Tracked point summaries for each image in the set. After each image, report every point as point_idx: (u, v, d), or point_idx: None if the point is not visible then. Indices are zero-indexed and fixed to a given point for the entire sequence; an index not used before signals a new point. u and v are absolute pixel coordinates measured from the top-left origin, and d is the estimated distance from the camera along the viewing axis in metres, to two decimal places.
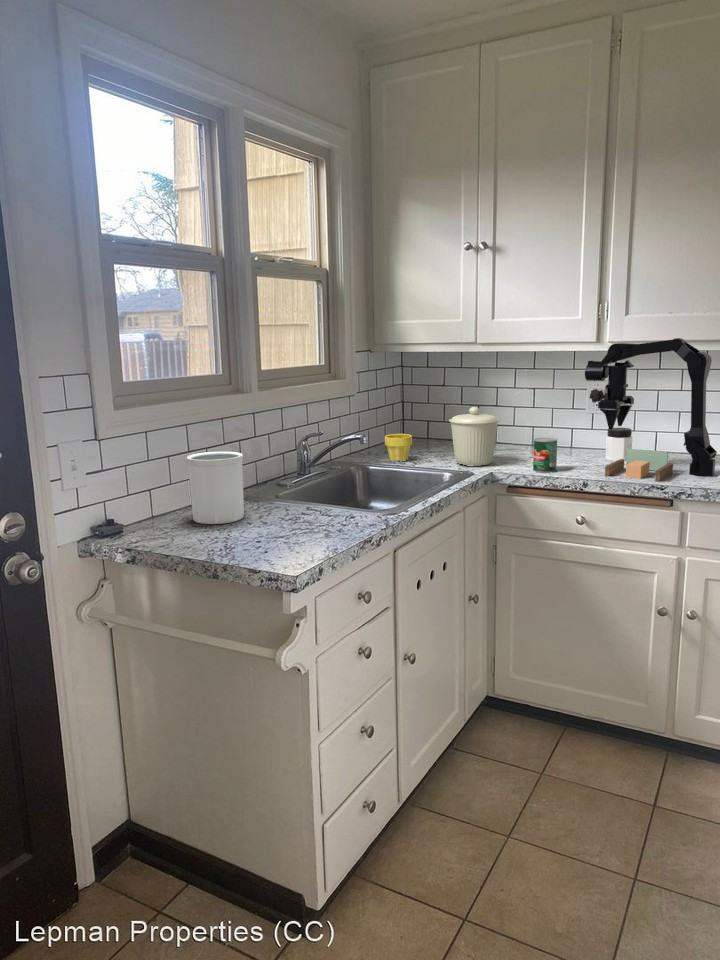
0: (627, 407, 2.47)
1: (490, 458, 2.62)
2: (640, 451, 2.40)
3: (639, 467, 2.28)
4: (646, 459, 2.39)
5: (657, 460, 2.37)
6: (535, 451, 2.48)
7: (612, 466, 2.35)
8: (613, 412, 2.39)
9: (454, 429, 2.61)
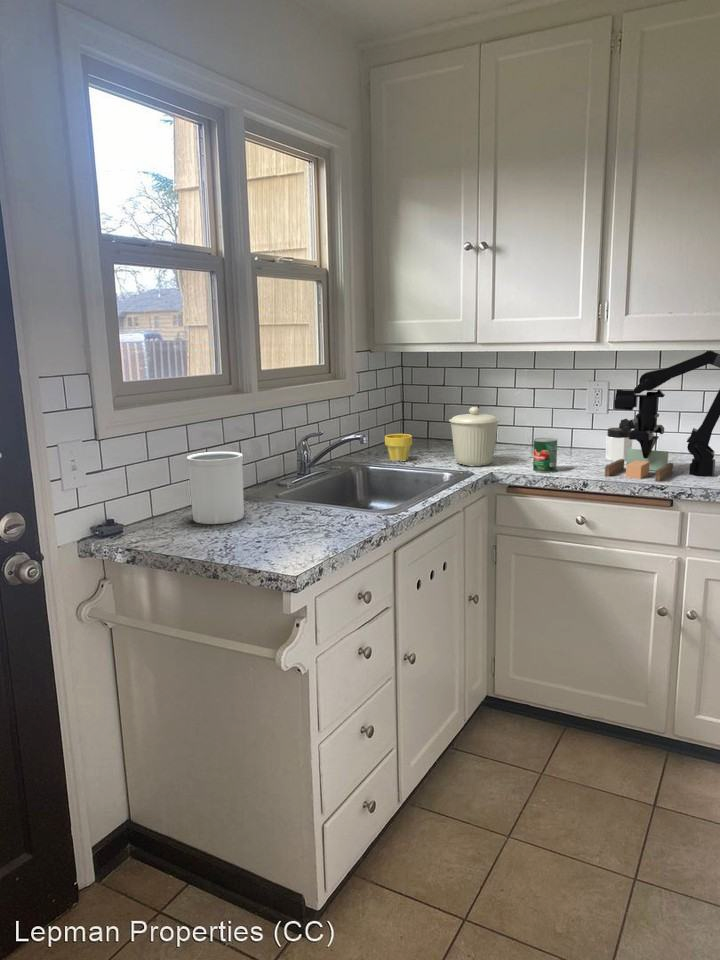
0: None
1: (490, 458, 2.62)
2: (640, 451, 2.40)
3: (639, 467, 2.28)
4: (646, 459, 2.39)
5: (657, 460, 2.37)
6: (535, 451, 2.48)
7: (612, 466, 2.35)
8: (648, 441, 2.35)
9: (454, 429, 2.61)
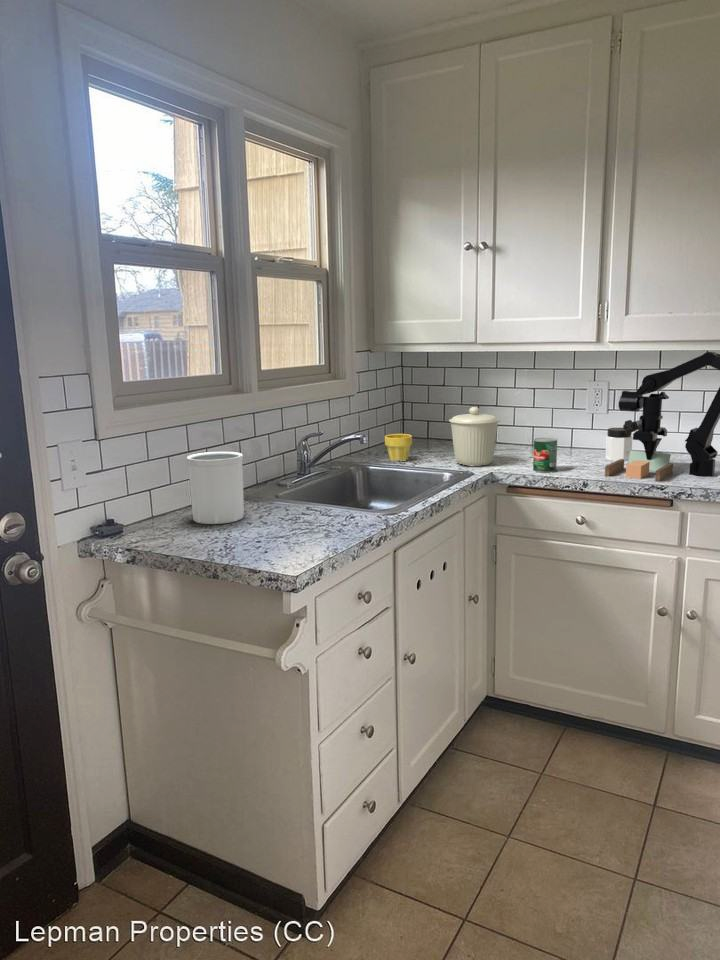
0: None
1: (490, 458, 2.62)
2: (643, 453, 2.43)
3: (639, 467, 2.28)
4: (648, 460, 2.41)
5: (659, 461, 2.39)
6: (535, 451, 2.48)
7: (612, 466, 2.35)
8: (652, 442, 2.38)
9: (454, 429, 2.61)
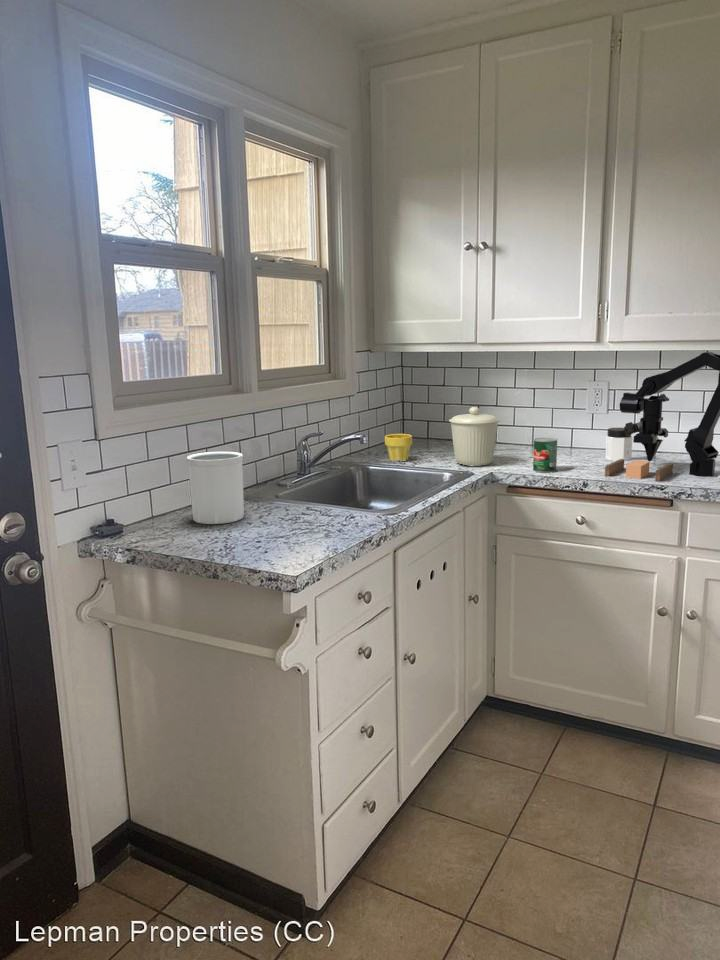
0: (658, 442, 2.41)
1: (490, 458, 2.62)
2: None
3: (639, 467, 2.28)
4: None
5: None
6: (535, 451, 2.48)
7: (612, 466, 2.35)
8: (652, 444, 2.40)
9: (454, 429, 2.61)
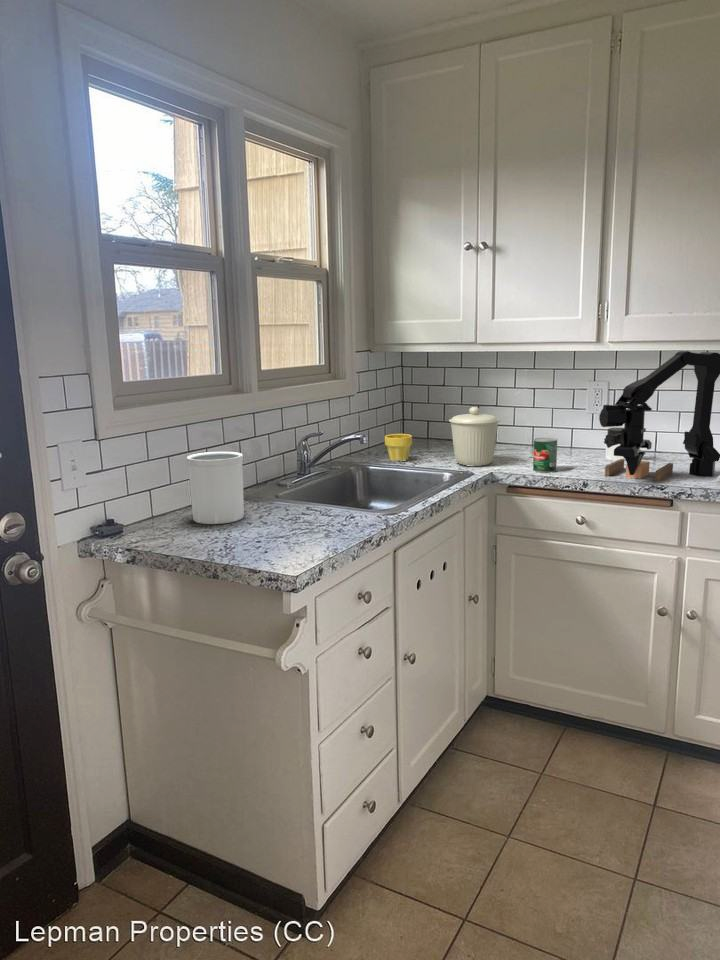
0: None
1: (490, 458, 2.62)
2: None
3: (639, 467, 2.28)
4: None
5: None
6: (535, 451, 2.48)
7: (612, 466, 2.35)
8: (634, 457, 2.25)
9: (454, 429, 2.61)
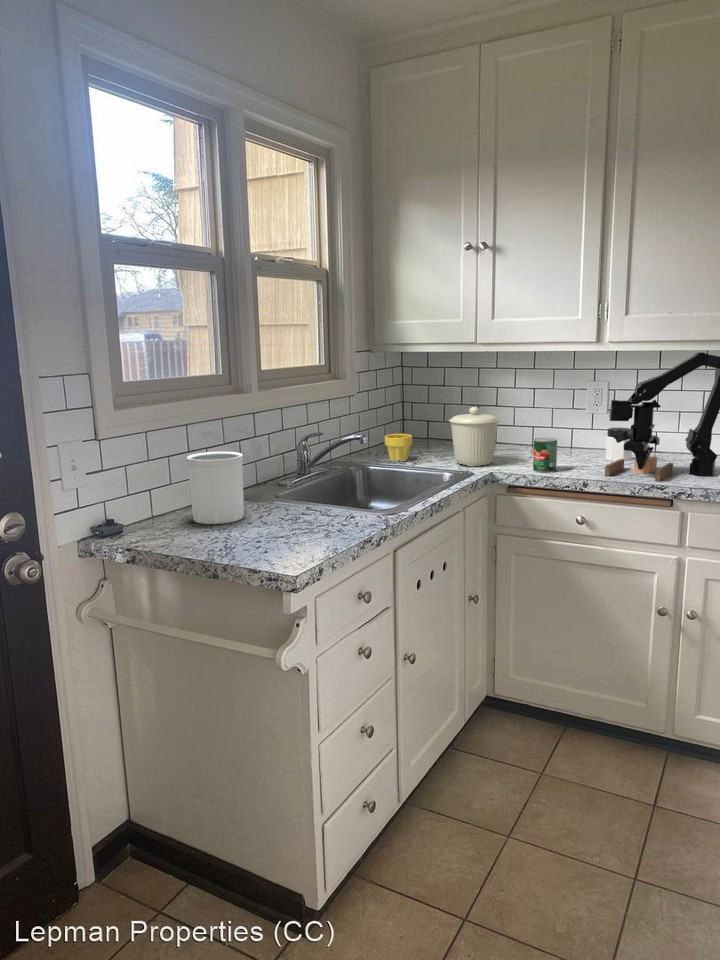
0: None
1: (490, 458, 2.62)
2: None
3: (647, 462, 2.35)
4: None
5: None
6: (535, 451, 2.48)
7: (612, 466, 2.35)
8: (643, 452, 2.32)
9: (454, 429, 2.61)
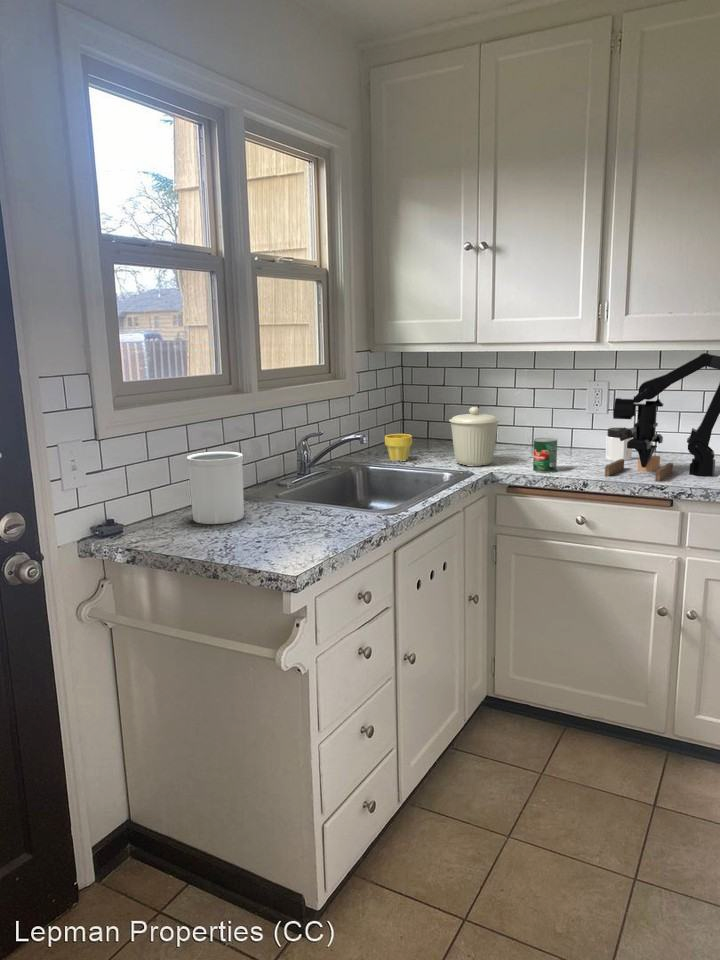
0: (652, 448, 2.36)
1: (490, 458, 2.62)
2: None
3: (650, 460, 2.38)
4: None
5: None
6: (535, 451, 2.48)
7: (612, 466, 2.35)
8: (647, 450, 2.35)
9: (454, 429, 2.61)
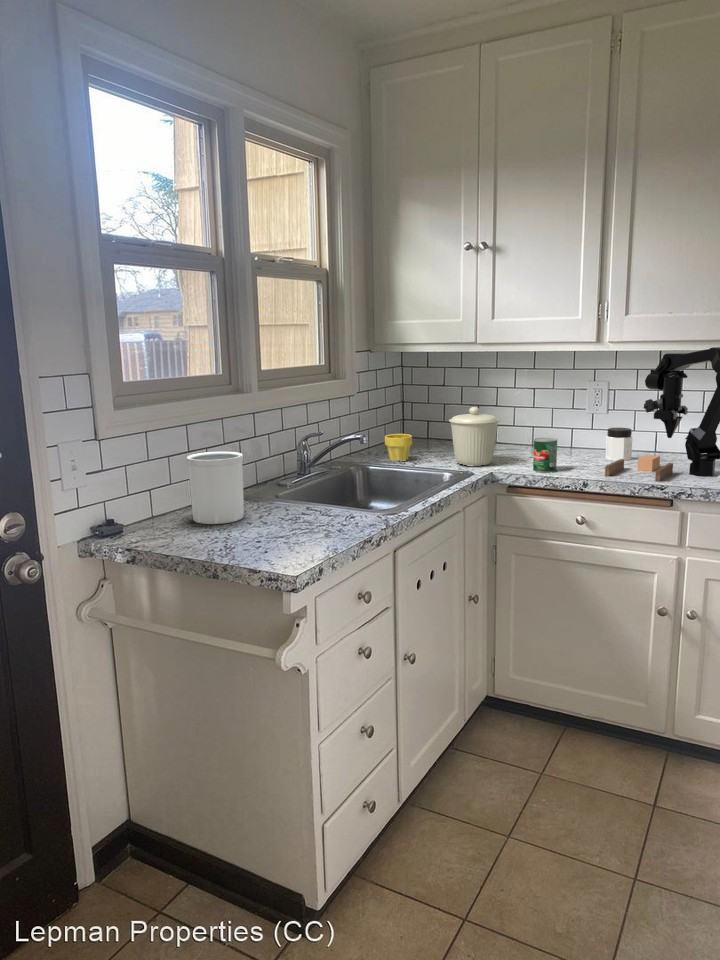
0: None
1: (490, 458, 2.62)
2: None
3: (651, 460, 2.38)
4: None
5: None
6: (535, 451, 2.48)
7: (612, 466, 2.35)
8: (672, 421, 2.41)
9: (454, 429, 2.61)
